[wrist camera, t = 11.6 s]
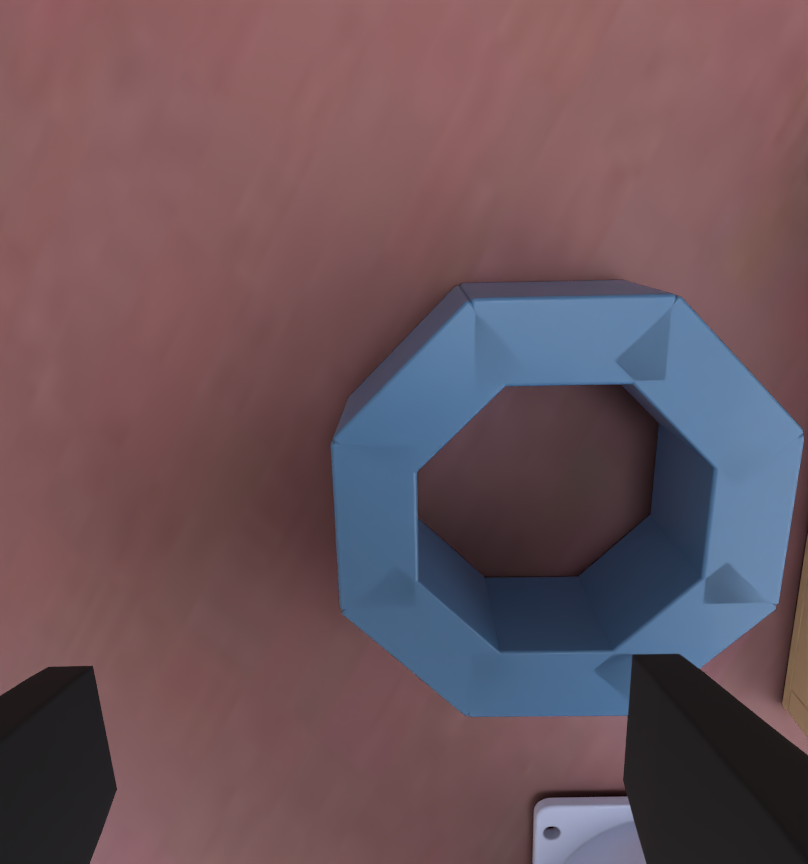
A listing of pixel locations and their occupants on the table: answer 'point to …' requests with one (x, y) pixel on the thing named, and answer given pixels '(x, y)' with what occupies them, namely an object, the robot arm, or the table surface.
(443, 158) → the table surface
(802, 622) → the tray
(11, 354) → the table surface
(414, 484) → the ring
